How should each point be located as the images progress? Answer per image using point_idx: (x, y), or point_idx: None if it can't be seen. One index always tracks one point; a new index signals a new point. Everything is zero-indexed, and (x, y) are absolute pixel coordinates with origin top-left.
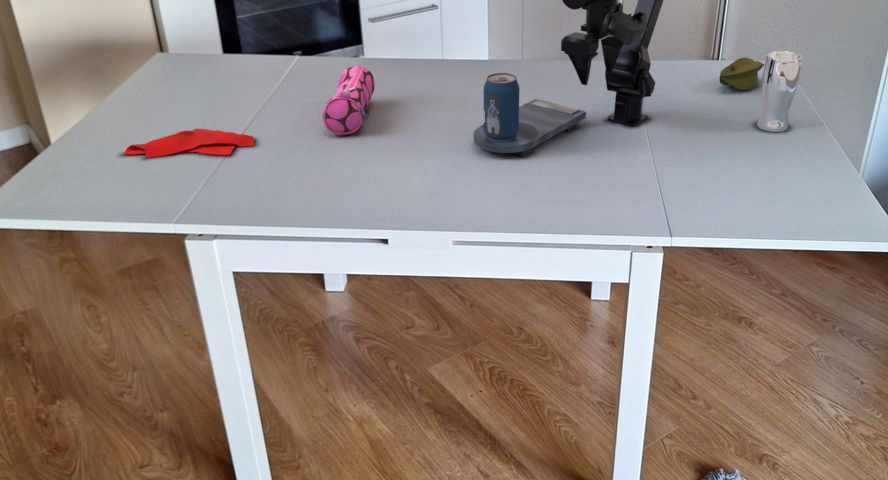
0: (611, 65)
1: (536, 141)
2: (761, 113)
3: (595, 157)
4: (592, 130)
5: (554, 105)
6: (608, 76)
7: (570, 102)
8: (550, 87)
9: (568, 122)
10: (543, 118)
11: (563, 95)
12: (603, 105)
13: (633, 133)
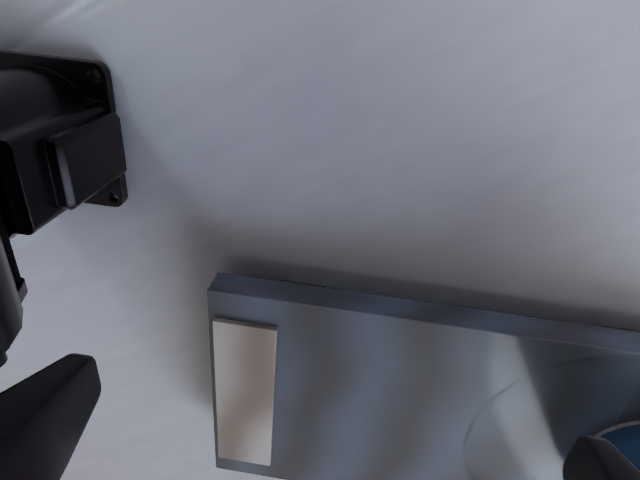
0: (41, 419)
1: (621, 341)
2: None
3: (567, 62)
4: (259, 210)
5: (239, 406)
6: (4, 343)
7: None
8: None
9: (358, 308)
10: (379, 397)
11: None
12: None
13: (173, 25)
